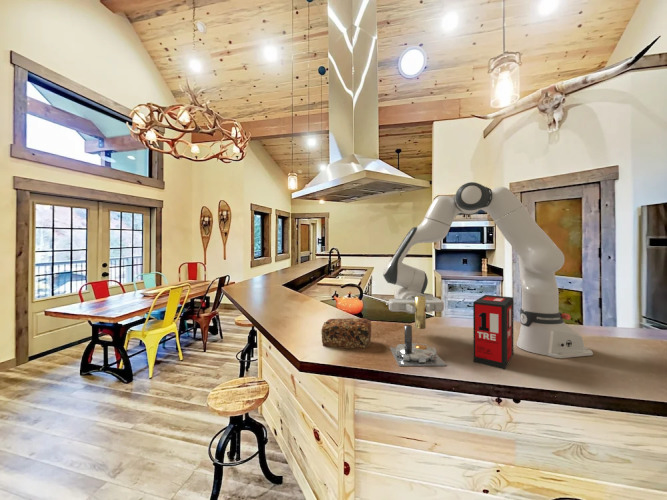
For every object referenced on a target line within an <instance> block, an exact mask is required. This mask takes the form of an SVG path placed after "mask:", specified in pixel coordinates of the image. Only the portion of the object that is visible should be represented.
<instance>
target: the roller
mask: <svg viewBox="0 0 667 500" xmlns="http://www.w3.org/2000/svg"><path fill="white" fill-rule="evenodd" d="M415 307H416V312H415V313H414V327H415V329H417V330H418V329H419V330H425V329H426V327H427V326H426V325H427V324H426V323H427V322H426V321H427V319H426V313H427V312H426V297H425V296H415Z"/></svg>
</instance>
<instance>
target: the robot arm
mask: <svg viewBox="0 0 667 500" xmlns="http://www.w3.org/2000/svg"><path fill="white" fill-rule="evenodd" d="M480 211H484V212H485V213H486V214H488V215H489V216H490V218H491V220H492V221H493V222H494V224H495V226H496V227H497V228H498V230H499V231H500V233H501V234H502V235H503V237H504V239H505V240H506V241H507V243H509V244H510V246H511V247H512V248H513V249H514V251H515V252H516V253H517V255H518V266H519V278H520V279H519V280H520V285H521V287H520V288H521V289H520V290H521V308H520V309H519V319H520V328H519V335H518V338H517V341H516V346H517V347H518V348H520V349H521V350H524V351H526V352H529V353H534V354H537V355H542V356H548V357H550V358H554V359H565V358H567V359H568V358H579V357H586V356H593V355H594V353H593V351H592V350H591V349H589V348H588V347H587V346H585V343H584V339H583V336H582V335H581V334H580V333H579V332H578V331H576V330H575V329H573V328H572V327H571V326H570V325H568V324H567V323H565V321H564V320H566V321H570V320H571V315H570V314H568V313H562V312H560V311H559V302H560V301H559V300H560V299H559V298H560V297H559V295H560V294H559V288H558V284H557V278H556V272H558V271H559V270H560V269H562V267H563V266H564V265H565V261H566V259H565V255H564V253H563V251H562V250H561V249H560V248H559V247H558V246H557V245H556V243H555V242H554V241H553V239H552V238H551V237H550V236H549V235H548V234H547V233H546V232H545V231H544V229H542V228H541V227H540V226H539V224H538V223H537V222H536V221H535V219H534V218H533V217H532V215H531V213H529V211H528V210H527V209H526V206H524V204H523V203H522V202H521V200H520V199H519V198H518V197H517V196H516V195H515V194H514V193H513V192H512V191H511V190H510V189H508V188H507V187H505V186H499V187H498V186H497V187H495V188H493V189H491V188H490V187H487V186H485V185H482V184H481V183H479V182H478V183H477V182H473V181H471V182H466V183H464V184H462V185H461V186H460V187H459V188H457V191H456V193H455V195H453V196H448V195H439V196H438V195H437V196H436V197H435V198H434V199H433V201H432V202H431V204H430V205H429V207H428V209H427V211H426V213H425V215H424V218H423V219H422V220H421V223H420V224H418V226H414V227H412V228H411V229H409V231H408V232H407V234H406V236H404V238H403V240H402V241H401V242H400V245H399V246H398V248H397V249H396V251H395V253H394V254H393V256H392V257H391V258H390V260H389V261H388V263H387V264H386V265H385V267H384V269H383V273H382V276H383V278H384V280H385V282H386V283H387V284H391V285H396V286H399V287H397V288H396V289H395V290H394V296H393V297H394V298H390V299H388V301H385V304H386V305H387V306H388V310H389V311H390V312H405V313H407V314H411V315H412V314H414V315H415V312H416V307H415V296H425V297H426V313H430V312H443V311H445V310H444V309H445V303H444V300H443V299H440V298H439V297H437V296H434V293H427V292H426V293H425V291H426V290H427V286H428V282H429V279H428V276H427V273H426V271H424V270H422V269H419V268H417V267H413V266H411V265H408V264H406V263H403V261H404V259H405V258H406V256H407V255H408V253H409V251H410V250H411V248H412V247H413V246H414V245H416V244H417V245H418V244H423V243H426V244H427V243H428V244H429V243H430V244H431V243H438V242H441V241H442V240H444V239H445V238H446V236H447V235H448V233H449V231H450V228H451V226H452V225H453V222H454V219H455V217H456V216H457V215H458V216H459V215H460V216H471V215H474V214H477V213H478V212H480Z"/></svg>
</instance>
